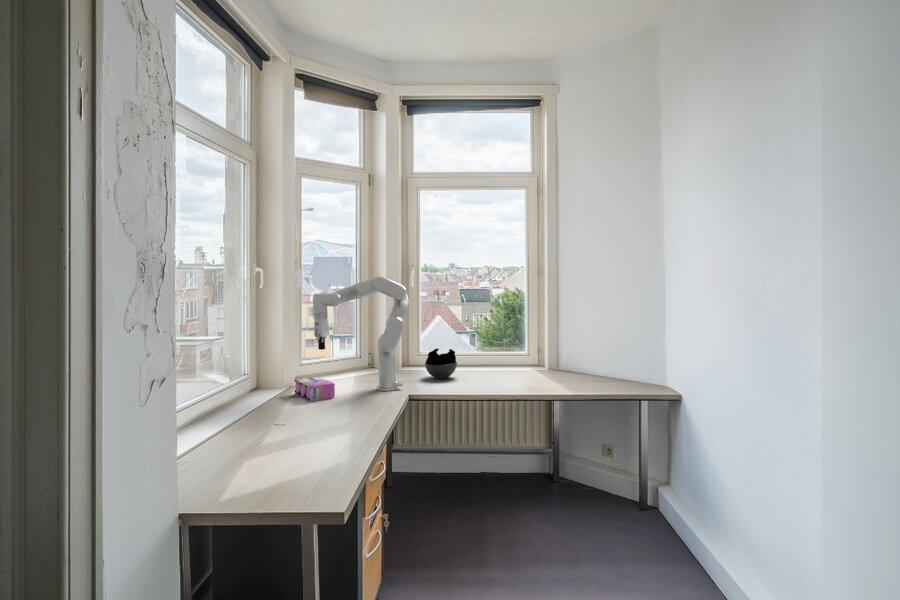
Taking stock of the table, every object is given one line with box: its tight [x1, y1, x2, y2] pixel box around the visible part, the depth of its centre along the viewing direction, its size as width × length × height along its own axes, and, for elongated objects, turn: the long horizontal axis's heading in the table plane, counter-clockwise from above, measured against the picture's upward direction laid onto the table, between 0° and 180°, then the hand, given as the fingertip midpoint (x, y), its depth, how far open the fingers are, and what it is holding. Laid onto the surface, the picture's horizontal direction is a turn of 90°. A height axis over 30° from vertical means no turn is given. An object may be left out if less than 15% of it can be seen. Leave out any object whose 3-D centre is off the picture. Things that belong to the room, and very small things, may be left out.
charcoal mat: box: [288, 392, 305, 399], centre depth 279 cm, size 15×25×1 cm, turn 170°
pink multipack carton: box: [293, 375, 336, 402], centre depth 270 cm, size 24×8×14 cm
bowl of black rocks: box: [424, 348, 458, 380], centre depth 313 cm, size 20×20×19 cm
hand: (321, 349), depth 277 cm, fingers closed
